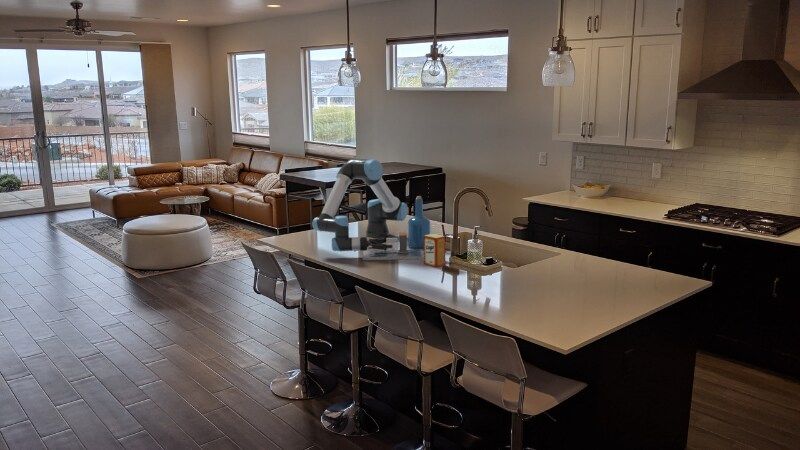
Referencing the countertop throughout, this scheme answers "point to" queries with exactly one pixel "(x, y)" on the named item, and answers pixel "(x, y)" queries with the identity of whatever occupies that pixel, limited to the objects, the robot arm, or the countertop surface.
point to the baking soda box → (434, 250)
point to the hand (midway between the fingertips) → (398, 243)
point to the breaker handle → (403, 242)
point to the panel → (391, 254)
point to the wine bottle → (418, 226)
